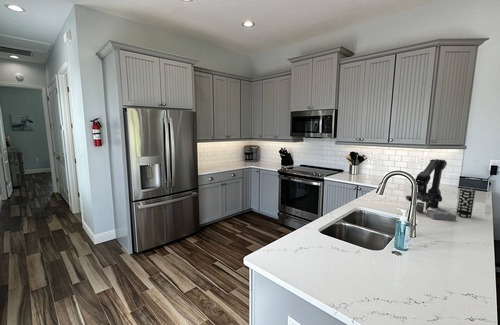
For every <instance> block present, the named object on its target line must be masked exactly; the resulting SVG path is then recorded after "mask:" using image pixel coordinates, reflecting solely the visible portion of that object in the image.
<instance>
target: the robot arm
mask: <svg viewBox="0 0 500 325" xmlns="http://www.w3.org/2000/svg"><path fill="white" fill-rule="evenodd" d="M429 161H430V162H429V163H428V164H427V166H426V167H425V169H424V170H422V171H420V172H419V173H418V174H417V175H416V177H415V180H416V182H417V185H418V192H416V195H417V200H416V201H420V202H421V203H425V211H427V210H429V208H430V209H436V208H438V209H441V207H439V203H442V202H443V196H442V194H441V193H442V192H441V190H440V184H441V179H442V172H443V170H444V169H446V167H447V164H448V163H447V161H446V160H445V159H440V158H439V159H437V158H436V159H434V158H433V159H430V160H429ZM432 173H433V177H432V183H431V187H430V188H429V189H428V184H429V182H430V181H431V175H432ZM415 180H414V181H415ZM410 188H411V190H412V185H411V187H410ZM427 189H428V190H427ZM411 196H412V195H406V196H405V199H406V201H408V202H409V203H410V201H411Z"/></svg>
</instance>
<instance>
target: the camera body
mask: <svg viewBox="0 0 500 325" xmlns="http://www.w3.org/2000/svg"><path fill="white" fill-rule="evenodd" d="M426 216H427V217H429V218H431V219H432V220H435V221H436V220H438V221H448V222H449V221H451V222H456V221H457V215H456V214H455V213H453V212H451V211H449V210H447V209H444V208H440V209H438V208H432V209H427V210H426Z"/></svg>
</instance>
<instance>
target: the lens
mask: <svg viewBox="0 0 500 325" xmlns="http://www.w3.org/2000/svg"><path fill="white" fill-rule="evenodd" d="M424 208H425V202H422V201H417V203H415V210H416V211H417V212H416V211H415V212H416V213H417V214H418V213H419V214H423V213H424Z"/></svg>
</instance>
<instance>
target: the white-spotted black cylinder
mask: <svg viewBox="0 0 500 325" xmlns="http://www.w3.org/2000/svg"><path fill="white" fill-rule="evenodd" d="M475 195H476V190H474V189H469V188H459V194H458V201H457V208H456V214H455V215H456V217H458V218H462V219H463V218H464V219H471V218H472V215H473V211H474V210H473V209H474V203H475V202H474V201H475V198H476V197H475Z"/></svg>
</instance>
